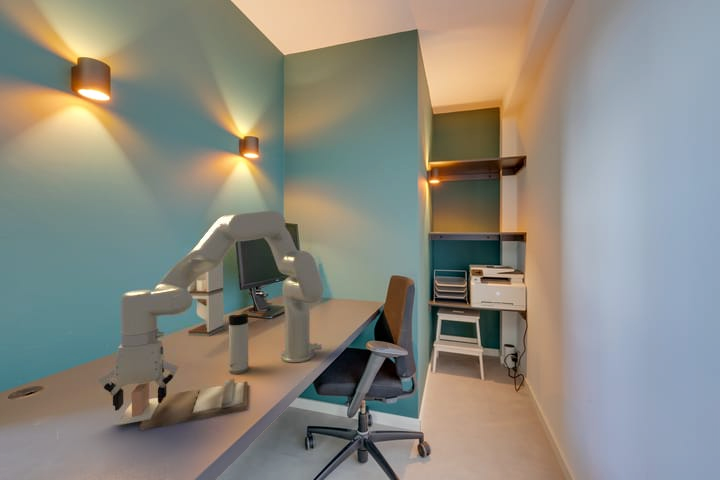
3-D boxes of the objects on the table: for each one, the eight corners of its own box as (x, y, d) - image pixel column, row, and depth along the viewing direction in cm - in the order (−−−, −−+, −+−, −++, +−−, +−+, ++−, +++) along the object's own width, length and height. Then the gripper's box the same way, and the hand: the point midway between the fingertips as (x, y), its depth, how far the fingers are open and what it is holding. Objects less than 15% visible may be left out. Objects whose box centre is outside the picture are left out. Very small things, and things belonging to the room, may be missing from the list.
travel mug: (229, 376, 97) (229, 317, 97) (228, 368, 103) (228, 312, 103) (249, 372, 100) (249, 314, 100) (247, 364, 106) (247, 310, 106)
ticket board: (247, 385, 92) (247, 376, 92) (246, 409, 78) (246, 399, 78) (157, 400, 83) (157, 390, 83) (140, 430, 70) (140, 419, 70)
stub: (162, 398, 82) (162, 375, 82) (150, 419, 72) (150, 393, 72) (132, 403, 79) (132, 380, 79) (116, 425, 70) (115, 399, 70)
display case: (204, 328, 150) (203, 260, 150) (223, 328, 149) (222, 260, 148) (188, 335, 139) (187, 262, 138) (208, 336, 137) (208, 262, 137)
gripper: (181, 330, 82) (182, 390, 82) (105, 337, 76) (106, 403, 76) (174, 338, 75) (175, 404, 75) (90, 347, 69) (91, 419, 69)
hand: (140, 403), depth 76 cm, fingers open, 8 cm apart
